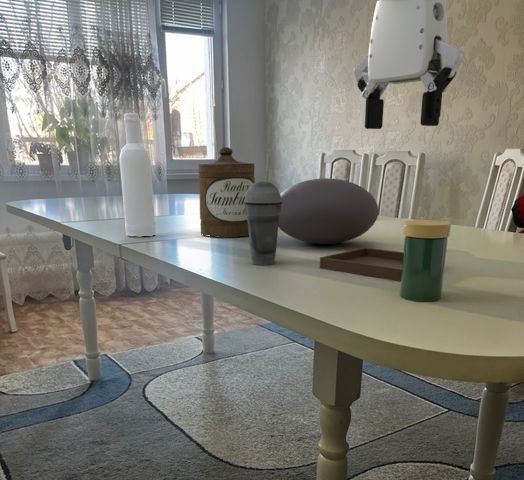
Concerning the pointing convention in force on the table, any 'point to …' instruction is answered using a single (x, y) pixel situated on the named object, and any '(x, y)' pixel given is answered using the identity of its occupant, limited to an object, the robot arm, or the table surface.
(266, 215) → the beverage cup
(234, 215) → the wooden container
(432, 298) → the jar
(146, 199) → the bottle
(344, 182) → the smooth stone
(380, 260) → the tray
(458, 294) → the table surface
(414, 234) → the lid
